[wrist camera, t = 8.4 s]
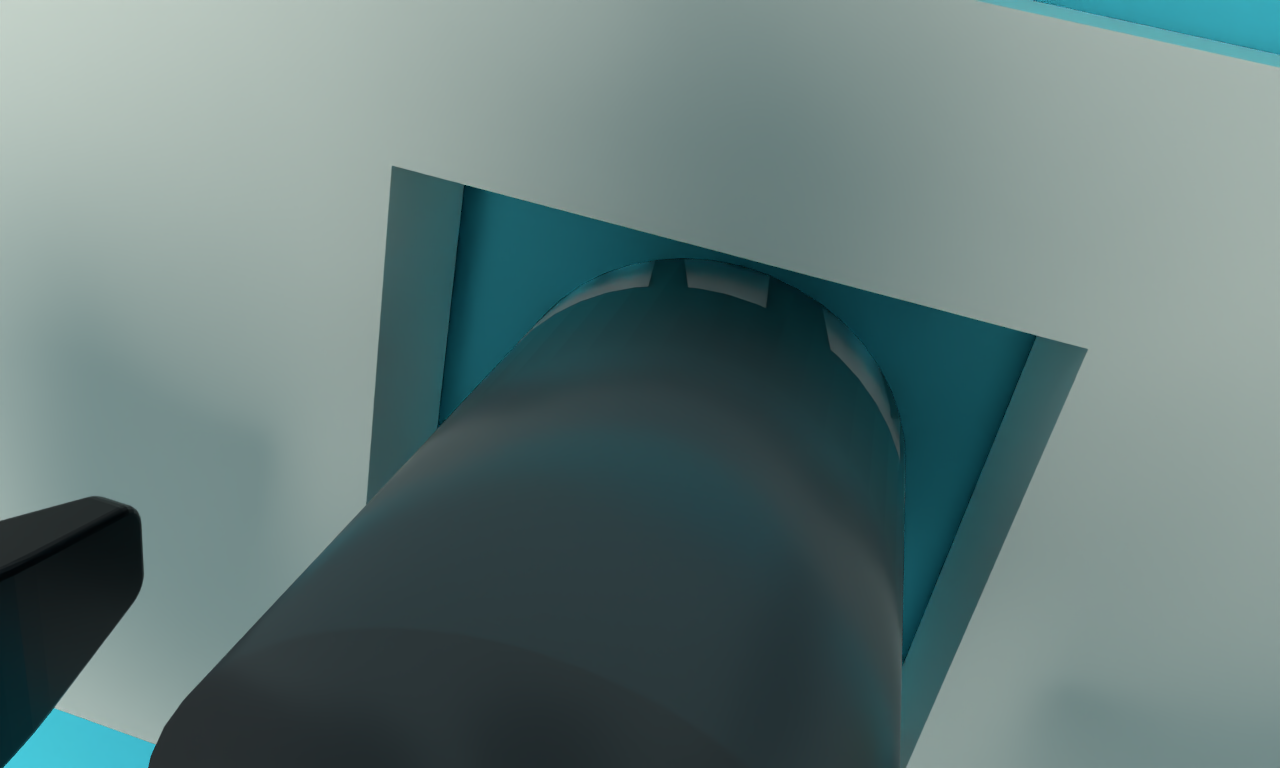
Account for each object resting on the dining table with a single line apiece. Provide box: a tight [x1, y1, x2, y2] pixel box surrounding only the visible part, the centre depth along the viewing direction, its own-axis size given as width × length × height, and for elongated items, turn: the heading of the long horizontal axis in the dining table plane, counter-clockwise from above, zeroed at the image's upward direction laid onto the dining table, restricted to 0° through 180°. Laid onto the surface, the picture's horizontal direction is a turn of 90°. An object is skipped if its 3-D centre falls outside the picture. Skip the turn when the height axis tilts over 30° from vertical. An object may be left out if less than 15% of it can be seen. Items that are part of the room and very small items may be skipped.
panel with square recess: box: [0, 0, 1280, 768], centre depth 12 cm, size 20×12×2 cm, turn 79°
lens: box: [148, 258, 906, 768], centre depth 10 cm, size 5×5×7 cm
